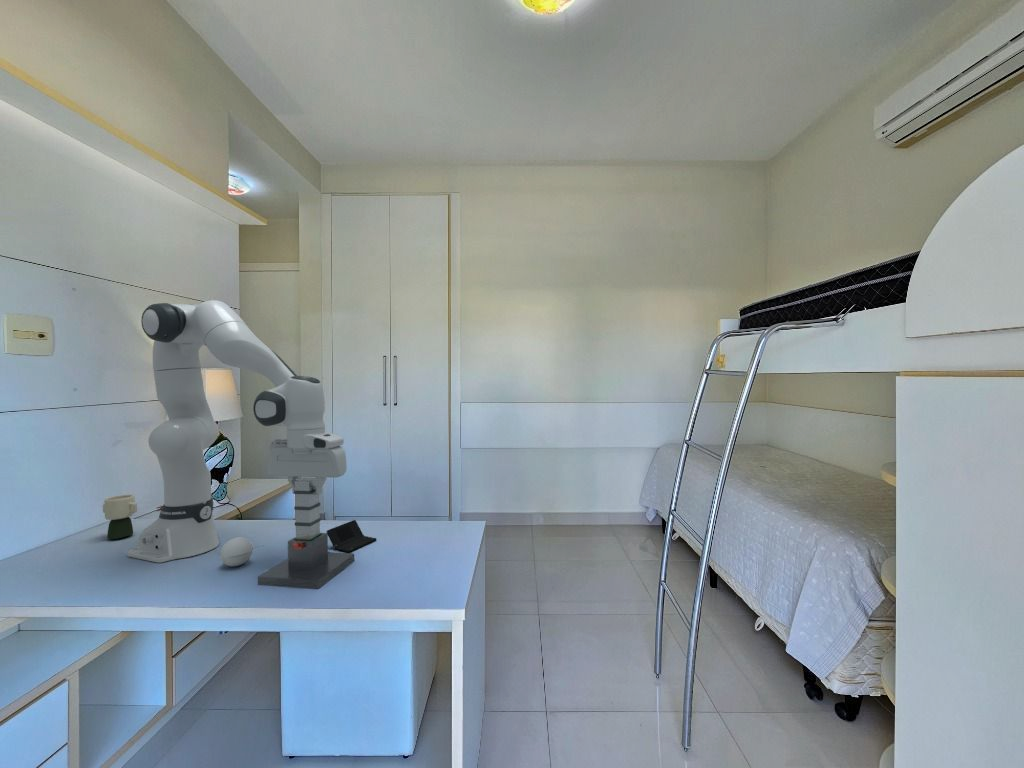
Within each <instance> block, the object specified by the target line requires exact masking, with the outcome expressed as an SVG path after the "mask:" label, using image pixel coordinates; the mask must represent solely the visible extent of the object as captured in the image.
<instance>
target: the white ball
mask: <svg viewBox="0 0 1024 768" xmlns="http://www.w3.org/2000/svg"><path fill="white" fill-rule="evenodd" d="M264 546H265V545H262V547H264ZM255 548H257V547H254V548H253V544H252V542H251V541H250V540H249V539H248V538H245V537H242V536H237V537H233V538H231V539H228V541H226V542H225V543H224V544H223V545H222V547H221V549H220V552H219V556H220V560H221V562H222V563H223V564H224V565H226V566H228V567H240V566H241V565H243V564H245V563H246V562H247V561H248V560H249V559H250V557H251V555H252V554H253V551H254V549H255ZM258 548H261V545H259V546H258Z"/></svg>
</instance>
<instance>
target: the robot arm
mask: <svg viewBox="0 0 1024 768" xmlns="http://www.w3.org/2000/svg"><path fill="white" fill-rule="evenodd" d="M141 327H142V331H143V332H144V333H145V335H146V336H147V338H149V339H150V340H152V341H153V346H152V369H153V376H154V377H153V378H154V384H155V385H154V386H155V391H156V398H157V400H158V402H159V403H160V404H161V405H162V407H163V409H164V410H165V412H166V413H165V414H166V415H167V417H168V420H166V421H163V422H161V423H160V424H158V425H157V426H155V428H153V429H152V431H151V432H150V434H149V435H148V436H149V437H148V440H147V441H148V446H149V448H150V450H151V451H152V453H154V454H155V455H156V458H157V460H158V465H159V466H160V469H161V473H162V479H163V501H164V503H163V505H160V506H157V507H156V512H159V516H158V518H157V519H155V520H154V521H153V522H151V524H150V525H148V526H147V527H146V528H145V529H143V530H142V531H141V532H140V534H139V537H138V546H136V547H134V548H132V549H131V550H129V551H128V552H127V557H129V558H133V559H138V560H143V561H149V562H153V563H165V562H168V561H172V560H177V559H183V558H184V559H185V558H189V557H193V556H196V555H197V556H198V555H201V554H204V553H206V552H209V551H212V550H214V549H215V548H217V547H218V546H219V544H220V542H219V535H217V530H216V524H215V523H216V522H215V520H214V519H215V517H214V514H213V511H214V503H215V502H214V498H213V497H212V478H211V477H212V475H211V471H210V469H209V468H208V466H207V463H206V460H205V456H204V450H207V449H208V448H209V447H211V445H213V444H214V442H215V441H216V440H217V439H218V438H219V435H220V429H219V425H218V423H217V422H216V421H215V420H214V418H213V417H214V416H213V414H212V411H211V407H210V405H209V403H208V400H207V398H206V392H205V387H204V381H203V373H202V367H201V361H200V352H199V351H200V350H201V348H202V347H204V346H205V347H207V350H209V352H210V353H211V354H212V356H214V357H215V359H217V360H218V361H219V362H221V363H222V364H224V365H226V366H229V367H234V368H237V369H243V370H247V371H251V372H254V373H256V374H260V375H262V376H264V377H265V378H267V379H268V380H269V381H270V382H271V383H272V385H274V388H270V389H268V390H264V391H261V392H260V393H259V394H257V396H256V397H255V399H254V402H253V406H252V407H253V408H252V409H253V415H254V417H255V419H256V421H257V422H258V423H259V424H260V425H262V426H265V427H271V428H274V427H282V426H284V427H285V426H286V439H279V438H278V439H274V440H273V441H272V442H271V443H270V444H269V453H268V454H269V455H268V461H267V473H268V475H270V477H287V482H288V483H289V485H290V486H291V489H292V490H291V493H292V494H293V495H295V494H294V491H295V481H297V480H299V477H301V478H302V477H303V478H316V481H318V484H317V486H316V487H314V488H313V494H314V495H319V496H320V495H321V494H322V493H323V486H324V484H326V483H325V482H326V481H327V478H335V479H336V478H340V477H343V476H344V475H345V474H346V473H347V469H348V468H347V467H348V465H347V455H346V451H345V449H344V447H343V445H344V440H345V439H344V438H343V437H342V436H339V435H337V434H335V433H332V432H329V431H326V425H325V422H324V413H325V410H326V408H325V405H326V403H325V392H324V387H323V384H322V382H321V381H320V379H318V378H316V377H312V376H306V375H305V376H304V375H297V374H296V373H295V371H293V370H292V368H291V367H290V366H289V364H287V363H286V361H284V360H283V358H281V357H280V356H279V355H278V353H276V352H275V351H274V350H273V349H271V348H269V347H268V346H267V344H265V343H264V342H262V341H261V340H260V339H259V338H258V337H257V335H255V334H254V333H253V331H252V330H251V329H250V327H249V326H248V325H247V324H246V323H245V321H244V320H243V319H242V317H240V315H238V314H237V312H236V311H235V310H234V309H232V308H231V307H230V305H228V304H227V303H225V302H223V301H221V300H217V299H214V300H213V299H211V300H205V301H203V302H201V303H199V304H193V303H187V304H185V303H168V302H163V303H162V302H161V303H160V302H159V303H153V304H151V305H148V306H147V307H146V308H145V309H144V311H143V312H142V315H141ZM203 345H204V346H203Z"/></svg>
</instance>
